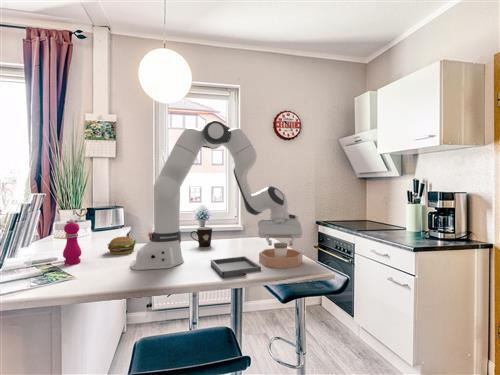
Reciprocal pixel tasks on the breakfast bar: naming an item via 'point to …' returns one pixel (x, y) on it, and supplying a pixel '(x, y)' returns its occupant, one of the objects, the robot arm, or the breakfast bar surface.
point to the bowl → (280, 259)
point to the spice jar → (280, 250)
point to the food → (121, 245)
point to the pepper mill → (71, 244)
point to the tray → (234, 266)
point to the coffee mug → (204, 236)
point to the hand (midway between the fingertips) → (280, 244)
